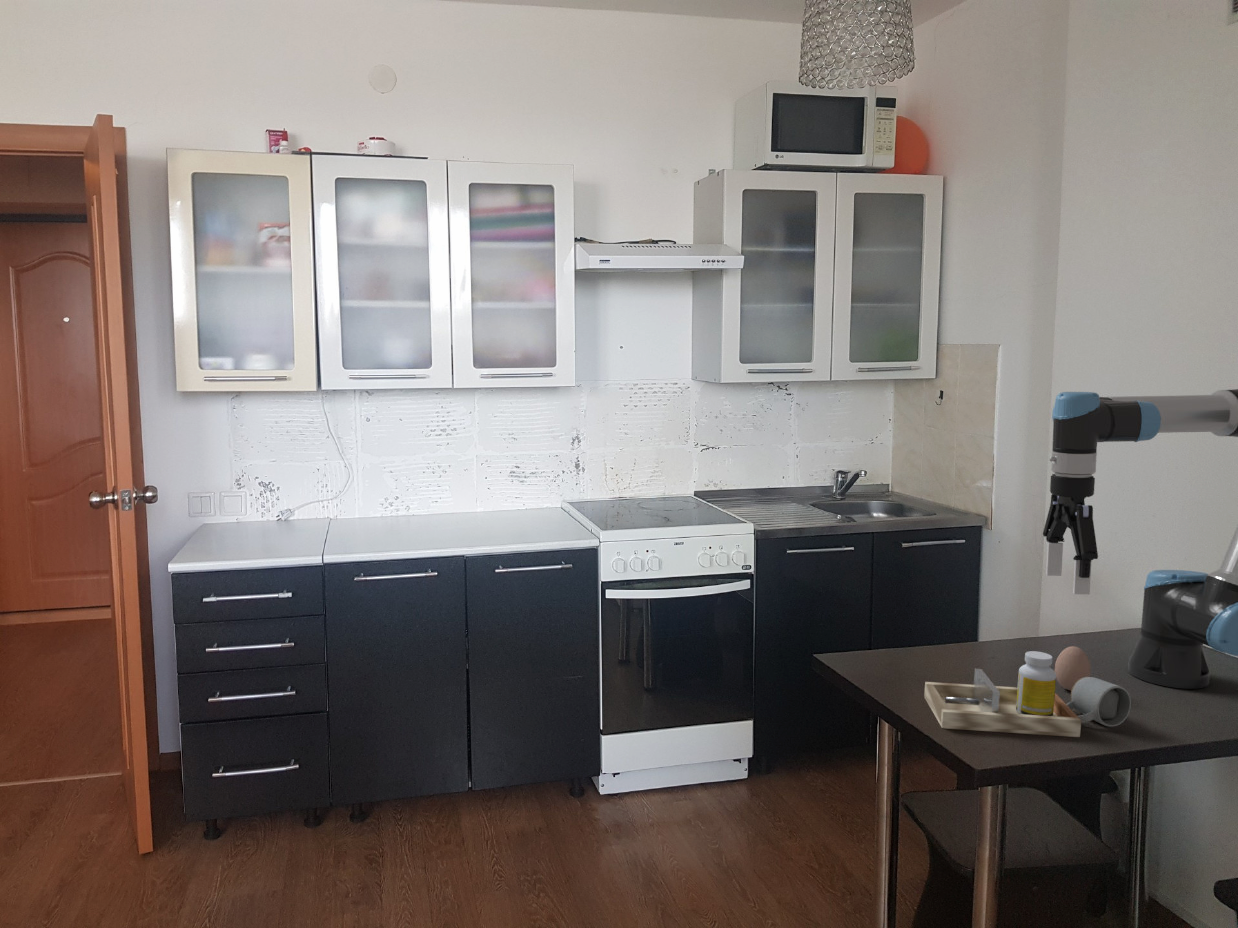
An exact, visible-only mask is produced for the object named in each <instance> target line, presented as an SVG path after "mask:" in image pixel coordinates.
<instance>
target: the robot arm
mask: <svg viewBox="0 0 1238 928" xmlns="http://www.w3.org/2000/svg"><path fill="white" fill-rule="evenodd" d="M1051 414H1052V417H1051V418H1052V419H1051V420H1052V422H1053V425H1052V426H1053V428H1052V452H1051V453H1052V455H1051V456H1050V457H1049V461H1050V463H1051V469H1050V470H1051V471H1052V472H1053V473H1052V475H1051V476H1050V484H1049V487H1050V488H1049V491H1050V493H1051V495H1050V504H1049V505H1050V506H1049V507H1048V508H1049V510H1048V512H1047V516H1046V521H1045V524H1044V527H1043V531H1042V535H1043V537H1045V540H1046V542H1047V545H1046V546H1047V547H1046V567H1045V568H1046V569H1045V575H1046V576H1047V577H1050V576H1051V577H1052V576H1053V577H1055V576H1057V577H1058V576H1062V570H1063V551H1064V543H1063V542H1065V538H1064V535H1065V533H1066V532H1067V529H1070V533H1071V536H1072V537H1071V538H1072V541H1073V545H1074V549H1075V556H1073V557H1072V559H1073V561H1074V563H1073V564H1074V565H1073V583H1072V594H1073V595H1090V594H1091V574H1092V561H1093V560H1098V558H1099V552H1098V547H1097V546H1098V545H1097V540H1096V532H1095V525H1094V514H1093V513H1094V507H1093V505H1090V504H1088V505H1086V503H1085V500H1086V498H1090V497H1092V496H1094V494H1095V484H1096V483H1095V482H1096V480H1095V479H1096V478H1095V477H1094V474H1095V473H1096V471H1097V455H1098V454H1097V453H1098V451H1097V448H1098V443H1104V442H1106V443H1108V442H1109V443H1110V442H1112V443H1113V442H1115V443H1116V442H1134V443H1138V442H1143V441H1149V440H1152V439H1154V438H1155V437H1156V436H1157V435H1158V434H1159V433H1161V434H1162V433H1164V434H1166V433H1168V434H1169V433H1171V434H1172V433H1211V434H1213V435H1214V436H1217V437H1234V438H1238V388H1235V389H1219V390H1216V391H1213V392H1212V393H1211V394H1202V395H1201V394H1199V395H1198V394H1195V395H1191V394H1190V395H1143V396H1142V395H1138V396H1137V395H1136V396H1128V395H1127V396H1100V395H1099V394H1098V393H1097V392H1094V391H1062V392H1060V393H1058V394H1057V395H1056V396H1055V401H1054V406H1053V409H1052V413H1051ZM1143 590H1144V592H1143V603H1142V614H1141V615H1142V616H1141V625H1140V626H1141V627H1140V634H1139V635H1140V636H1139V639H1138V640H1137V642H1136V644H1135V647H1134V648H1133V651H1132V653H1131V655H1130V656H1129V658H1128V664H1127V671H1128V673H1129V674H1130V675H1131V676H1133V677H1135V678H1137V679H1140V680H1142V681H1145V682H1147V683H1151V684H1154V685H1158V686H1164V687H1170V688H1175V689H1185V690H1187V689H1188V690H1189V689H1190V690H1191V689H1194V690H1196V689H1204V688H1206V687H1208V686H1209V684H1210V679H1211V678H1210V676H1211V673H1210V669H1209V665H1208V660H1207V657H1206V653H1205V649H1204V645H1206V647H1210V648H1212V649H1213V650H1215V651H1217V652H1221V653H1223V654H1228V655H1231V656H1234V657H1238V524H1237V526H1236V528H1235V530H1234V533H1233V535H1232V538H1231V540H1230V542H1229V545H1228V548H1227V550H1226V552H1225V555H1224V557H1223V560H1222V561H1221V565H1220V566H1219V569H1217V570H1214V571H1212V572H1209V573H1206V572H1202V571H1193V570H1182V569H1156V570H1152V571H1150V572H1148V573H1147V575H1146V580H1145V585H1144V587H1143Z"/></svg>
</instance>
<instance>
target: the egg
mask: <svg viewBox="0 0 1238 928" xmlns="http://www.w3.org/2000/svg"><path fill="white" fill-rule="evenodd" d="M1054 664H1055V665H1054V671H1055V673H1056V682H1058V684H1059V685H1060V686H1061V687H1062V688H1064V689H1065V690H1068V691H1070V692H1071V690H1072V687H1073V686H1074V684H1075V683H1076V682H1077V681H1078V680H1079V679H1081V678H1083V677H1091V673H1092V672H1091V671H1092V669H1091V663H1090V660H1089V657H1088V655H1087V653H1086V652H1085V651H1084V650H1082V648H1080V647H1078V646H1074V645H1072V646H1068V647H1065V648H1064V649H1063V650H1062V651H1061V652H1060V654H1059V655H1058V656H1057V658H1056V661H1055V663H1054Z"/></svg>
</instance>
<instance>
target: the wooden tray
mask: <svg viewBox="0 0 1238 928" xmlns="http://www.w3.org/2000/svg"><path fill="white" fill-rule="evenodd" d="M995 687H996V688H997V689H998V690H999V692H1000V696H999V708H998V713H993V712H982V711H981V709H980V708H979V706H978V705H966V704H950V703H945V697H958V698H973V688H974V684H966V683H949V682H935V681H934V682H933V681H925V683H924V693H923V694H924V696H923V697H924V700H925V701H926V702H927V704H928V706H929V708H930V709H931V712H932V713H933V714H934V717H935V718H936V720H937V721H938V724H939V725H940V727H941V728H942V729H949V730H950V729H951V730H966V731H967V730H968V731H980V732H981V731H982V732H997V733H999V732H1000V733H1013V734H1027V735H1040V736H1055V737H1056V736H1059V737H1069V738H1071V737H1073V738H1080V737H1081V730H1082V729H1081V728H1082V723H1081V720H1080V719H1079V717H1078V716H1079V715H1077V714H1076V713H1075V712H1074V711H1073V709H1072V710H1071V709H1070V708H1069V707H1068V706H1067V705H1066V704H1067V703H1065V701H1063V699H1062V698H1061V697H1059V695H1058V694H1057V693H1056V692H1055V699H1054V710H1053V716H1040V715H1024V714H1018V713H1017V711H1016V701H1017V687H1018V686H1017V687H1016V686H1002V685H1001V686H999V685H998V686H997V685H995Z"/></svg>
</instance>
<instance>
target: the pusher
mask: <svg viewBox="0 0 1238 928" xmlns="http://www.w3.org/2000/svg"><path fill="white" fill-rule="evenodd" d="M973 675H974V676H973V677H974V678H973V685H974V688H973V698H958V697H945V703H950V704H966V705H978V706H979V708H980V709H981V711H982V712H993V713H998V708H999V696H1000V692H999V690H998V689H997V688H996V687H995V686H996V685H995V684H994V683H993V682H992V680H991V679H990V678H989V676H987V674H986V672H985V671H983V669H982V668H974V674H973Z"/></svg>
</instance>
